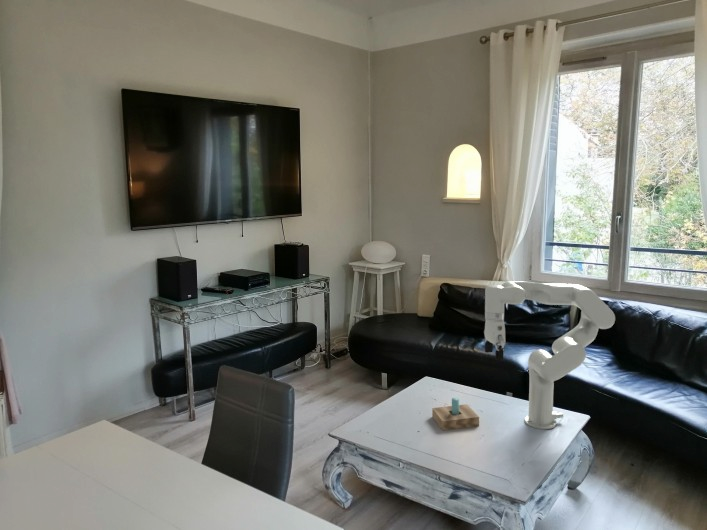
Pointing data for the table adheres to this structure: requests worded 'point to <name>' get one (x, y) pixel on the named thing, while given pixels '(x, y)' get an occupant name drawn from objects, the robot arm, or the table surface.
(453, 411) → the peg
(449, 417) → the hole block
